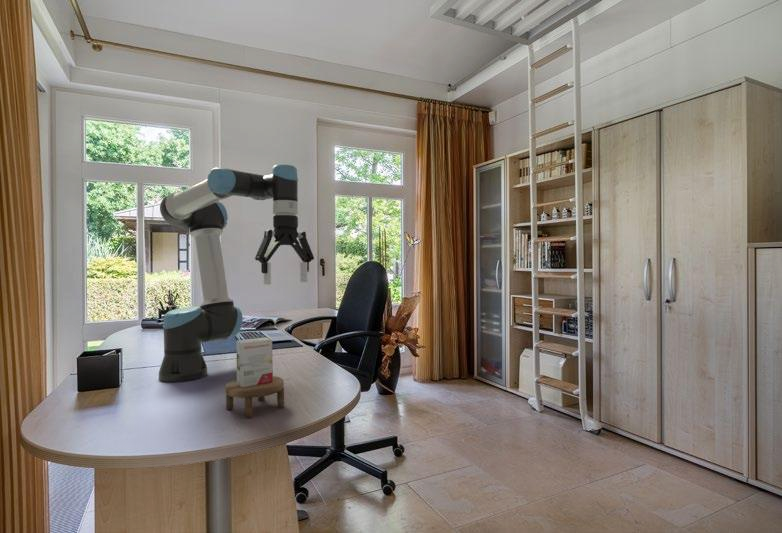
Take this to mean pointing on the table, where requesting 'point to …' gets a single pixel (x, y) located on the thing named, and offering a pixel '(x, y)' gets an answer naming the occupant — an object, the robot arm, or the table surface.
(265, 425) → the table surface
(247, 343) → the ink box
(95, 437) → the table surface
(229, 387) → the footstool
